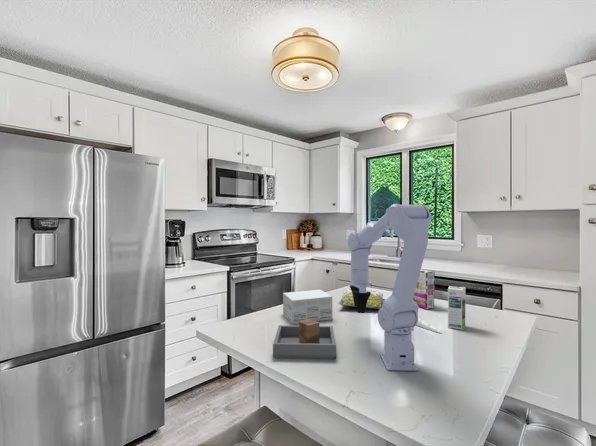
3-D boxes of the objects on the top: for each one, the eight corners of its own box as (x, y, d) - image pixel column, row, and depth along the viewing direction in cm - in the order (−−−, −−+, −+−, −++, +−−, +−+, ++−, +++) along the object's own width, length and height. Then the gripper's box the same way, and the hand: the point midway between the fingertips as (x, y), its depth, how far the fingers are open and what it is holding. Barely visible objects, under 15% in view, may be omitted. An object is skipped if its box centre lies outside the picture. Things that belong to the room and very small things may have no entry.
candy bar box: (435, 308, 143) (435, 271, 143) (426, 310, 141) (426, 272, 141) (415, 302, 153) (416, 267, 153) (407, 303, 151) (408, 268, 151)
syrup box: (447, 328, 119) (447, 288, 118) (448, 323, 124) (448, 285, 124) (465, 330, 116) (465, 289, 116) (465, 325, 121) (465, 286, 121)
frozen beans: (337, 297, 140) (341, 284, 165) (336, 310, 140) (341, 296, 165) (387, 301, 136) (384, 288, 160) (387, 315, 136) (383, 299, 161)
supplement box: (320, 310, 141) (320, 289, 141) (332, 319, 129) (332, 296, 129) (282, 314, 136) (282, 291, 136) (291, 324, 123) (291, 299, 123)
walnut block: (319, 345, 101) (319, 322, 101) (308, 348, 99) (308, 325, 98) (310, 340, 105) (310, 318, 105) (298, 344, 102) (298, 321, 102)
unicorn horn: (433, 336, 111) (434, 322, 111) (388, 316, 133) (388, 305, 133) (444, 334, 113) (444, 320, 113) (397, 315, 135) (397, 303, 135)
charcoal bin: (336, 359, 93) (336, 345, 93) (273, 357, 94) (273, 344, 94) (332, 338, 109) (332, 326, 109) (278, 337, 110) (278, 325, 110)
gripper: (376, 272, 102) (375, 316, 102) (368, 265, 116) (367, 303, 117) (353, 272, 102) (353, 316, 102) (348, 265, 117) (347, 303, 117)
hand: (359, 309), depth 110 cm, fingers open, 7 cm apart
